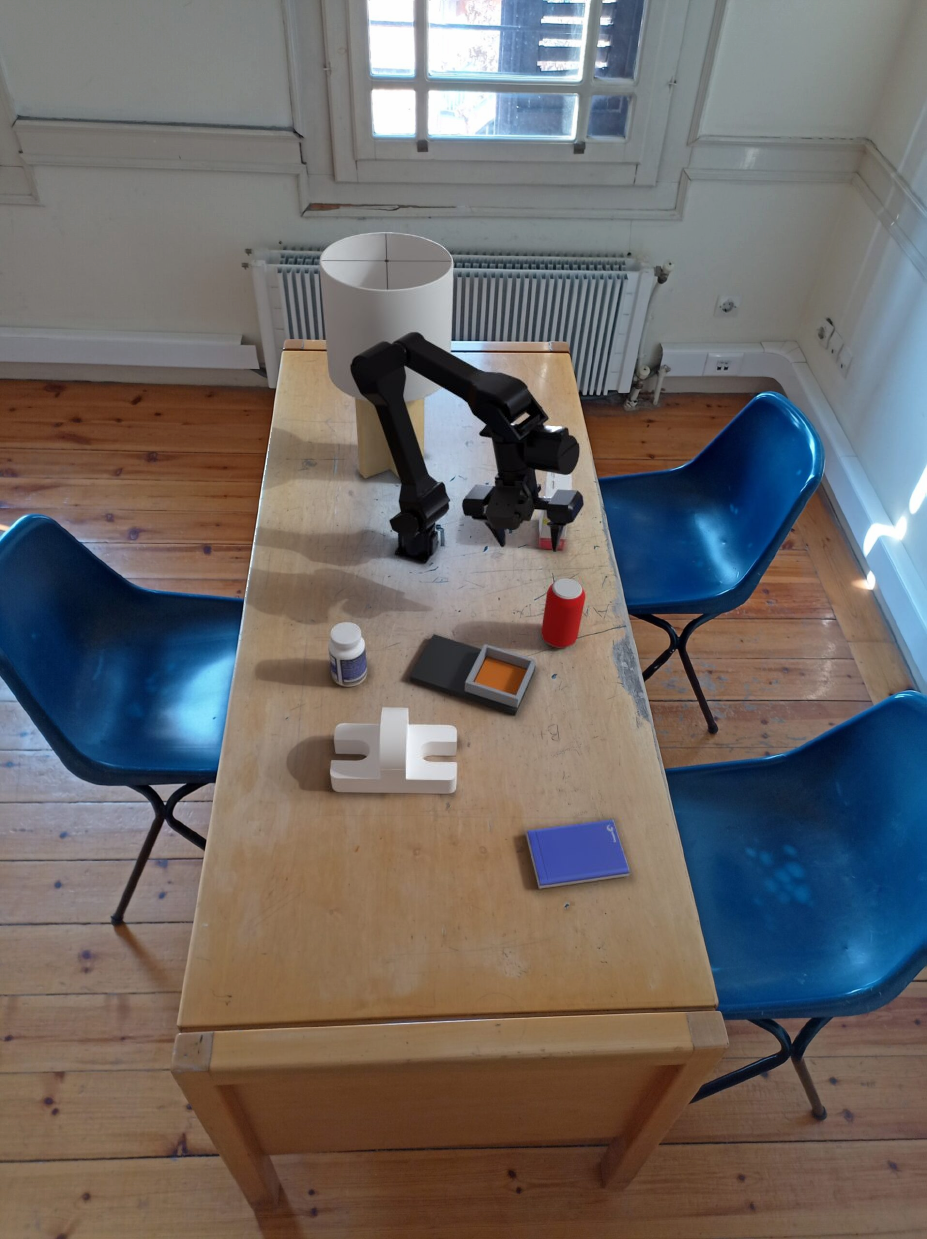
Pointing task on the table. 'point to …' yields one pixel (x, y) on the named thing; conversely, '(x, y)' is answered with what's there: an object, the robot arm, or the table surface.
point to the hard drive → (576, 854)
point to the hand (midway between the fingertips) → (529, 548)
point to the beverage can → (563, 613)
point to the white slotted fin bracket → (394, 756)
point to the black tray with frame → (475, 673)
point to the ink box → (550, 488)
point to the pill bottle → (347, 654)
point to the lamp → (384, 320)
